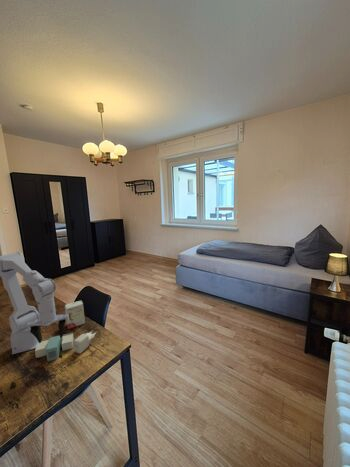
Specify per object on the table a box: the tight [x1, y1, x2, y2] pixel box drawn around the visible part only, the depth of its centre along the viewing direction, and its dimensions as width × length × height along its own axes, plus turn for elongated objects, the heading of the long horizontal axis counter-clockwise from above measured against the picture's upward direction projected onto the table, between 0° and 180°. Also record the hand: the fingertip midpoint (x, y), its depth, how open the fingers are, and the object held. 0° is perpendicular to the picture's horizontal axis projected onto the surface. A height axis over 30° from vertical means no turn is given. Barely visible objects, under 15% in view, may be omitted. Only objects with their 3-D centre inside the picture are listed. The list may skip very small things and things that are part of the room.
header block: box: [34, 332, 75, 359], centre depth 89 cm, size 14×6×4 cm, turn 112°
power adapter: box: [73, 330, 98, 355], centre depth 91 cm, size 11×5×6 cm, turn 159°
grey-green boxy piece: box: [46, 334, 62, 362], centre depth 86 cm, size 4×8×6 cm, turn 22°
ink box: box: [64, 300, 86, 330], centre depth 106 cm, size 9×5×12 cm, turn 125°
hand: (51, 338), depth 83 cm, fingers open, 7 cm apart
